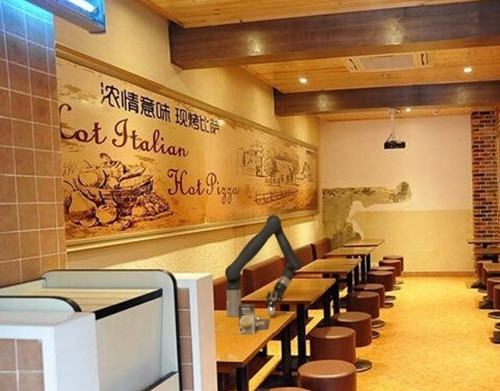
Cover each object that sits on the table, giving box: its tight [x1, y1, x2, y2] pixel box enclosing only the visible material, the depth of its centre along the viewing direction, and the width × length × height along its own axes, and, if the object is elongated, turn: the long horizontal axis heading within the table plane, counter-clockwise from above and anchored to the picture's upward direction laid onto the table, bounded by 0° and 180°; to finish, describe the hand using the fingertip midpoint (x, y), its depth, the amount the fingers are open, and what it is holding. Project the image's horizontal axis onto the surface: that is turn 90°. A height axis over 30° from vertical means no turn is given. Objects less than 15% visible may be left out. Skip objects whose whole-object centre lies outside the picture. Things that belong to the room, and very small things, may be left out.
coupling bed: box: [255, 315, 270, 331], centre depth 352 cm, size 13×24×3 cm, turn 176°
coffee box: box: [238, 303, 256, 335], centre depth 333 cm, size 9×6×16 cm
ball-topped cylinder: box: [267, 300, 276, 316], centre depth 368 cm, size 4×4×8 cm
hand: (269, 306), depth 367 cm, fingers closed on ball-topped cylinder, 4 cm apart
